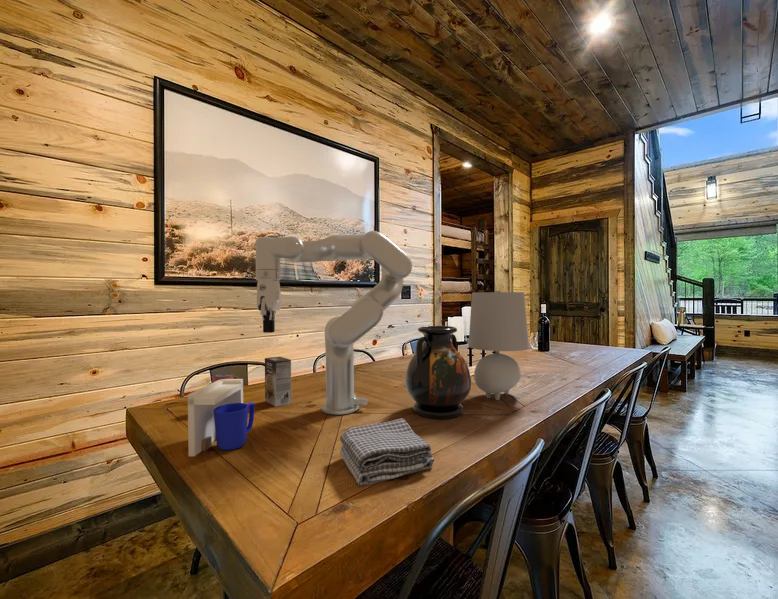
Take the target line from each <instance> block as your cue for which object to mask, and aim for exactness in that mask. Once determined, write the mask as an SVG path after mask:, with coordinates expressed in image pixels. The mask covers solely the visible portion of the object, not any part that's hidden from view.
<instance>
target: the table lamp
mask: <svg viewBox="0 0 778 599" xmlns="http://www.w3.org/2000/svg"><path fill="white" fill-rule="evenodd" d="M470 303H471V305H470V317H469V318H470V319H469V332H468V334H469V335H468V347H469V348H471V349H473V350H480V351H490V352H495V353H490V354H488V355H487V354H486V355H485V356H483V357H482V358H480V359H479V361H477V364H476V366H475V368H474V372H473V373H474V375H473V377H474V378H473V380H474V383H475V385H476V387H478V388H479V389H480V391H482V392H485V397H487V398H486V399H488V398H489V399H491V396H492V394H494V398H495V401H496V400H499V401H500V399H501V393H504V395H509V393H510V390H512V389H513V388H515V387H516V386H517V385H518V383H519V382H520V380H521V375H522V372H521V371H522V370H521V367H520V365H519V363H518V362H517V360H515V359H514V358H513V357H511V356H509V355H506V354H504V353H500V352H521V351H527V350H529V349H530V343H529V334H528V333H529V332H528V319H527V309H526V296H525V292H524V291H523V292H521V291H520V292H519V291H515V292H514V291H504V292H502V291H501V290H494V292H493V291H492V292H472V293H471V302H470Z"/></svg>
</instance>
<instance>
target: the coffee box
mask: <svg viewBox="0 0 778 599" xmlns="http://www.w3.org/2000/svg"><path fill="white" fill-rule="evenodd" d="M264 395H265V396H264V397H265V402H266V403H268V404H270V405H271V406H273V407H275V408H277V407H281V406H285V405H290V404H292V359H290V358H287V357H282V356H272V357H271V356H270V357H265V358H264Z"/></svg>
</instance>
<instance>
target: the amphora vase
mask: <svg viewBox="0 0 778 599" xmlns="http://www.w3.org/2000/svg"><path fill="white" fill-rule="evenodd" d="M417 331H418V332H419V333H421V334H422V335H423V336H420V337H419V338H418V339H417V342H416V348H415V354H414V355H413V356H412V357H411V359H410V361H409V362H408V365H407V369H406V371H405V372H406V373H405V378H404V379H405V388H406V392H408V394H409V397H411V399H412V400H413V401H414V404H413V406H412V408H413V411H414V412H415V413H416V414H417V415H419V416H422V417H425V418H428V417H429V418H430V419H436V418H438V419H440V420H441V419H442V420H443V418H446V419H451V418H452V419H453V418H455V417H458V416H459V415H461V414H462V413H463V412H464V406H463V405H462V403H463V402H464V401H465V400H466V399H467V397H468V396H469V394H470V391H471V388H472V386H471V385H472V380H471V379H472V378H471V373H470V369H469V366H468V364H467V362H466V360H465V358H464V357H463V356H462V354H460V353H459V351H458V340H457V337H456V335H455V334H454V333H456V332H458V328H457V327H455V326H451V325H450V326H449V325H426V326H420V327H418V328H417ZM438 419H437V420H438Z"/></svg>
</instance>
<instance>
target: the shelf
mask: <svg viewBox="0 0 778 599" xmlns="http://www.w3.org/2000/svg"><path fill="white" fill-rule="evenodd" d="M231 403H244V379H243V378H234V379H220V380H218V381H216V382H211V383H209V384H207V385H205V386H203V387H201V388H198V389H196V390H194V391H192V392H190V393H188V394H187V426H188V427H187V429H188V430H187V432H188V434H187V435H188V436H187V438H188V439H187V441H188V442H187V443H188V445H187V446H188V457H196V456H197V455H199V454H200V453H201V452H205V451H207V450H209V449H210V448H211V447H212V446H213V442H214V441H216V431H215V421H214V409H215V408H217V407H219V406H221V405H225V404H231Z"/></svg>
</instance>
